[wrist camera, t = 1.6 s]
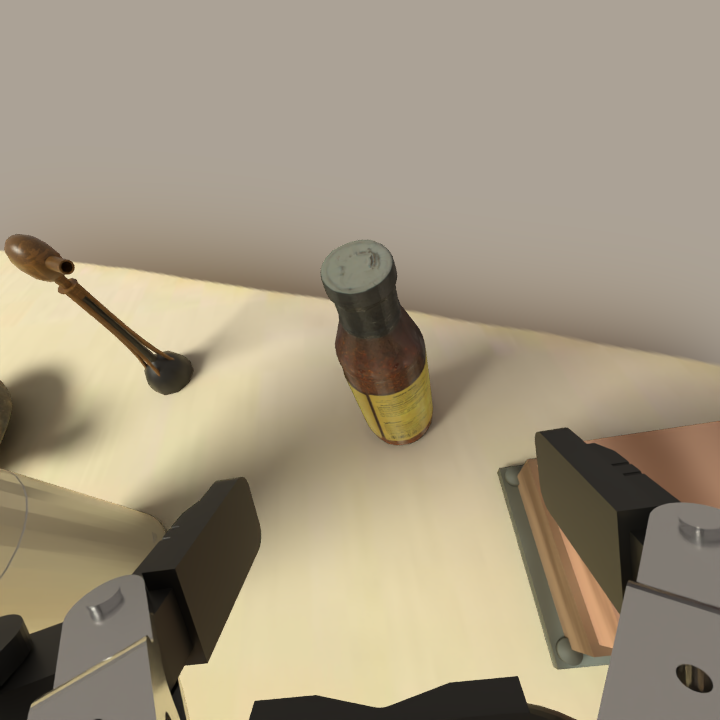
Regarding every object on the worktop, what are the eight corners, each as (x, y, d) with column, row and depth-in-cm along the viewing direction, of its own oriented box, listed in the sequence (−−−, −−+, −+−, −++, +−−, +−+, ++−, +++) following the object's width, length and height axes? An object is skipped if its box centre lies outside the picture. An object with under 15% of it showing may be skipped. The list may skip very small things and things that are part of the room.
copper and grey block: (553, 666, 26) (609, 697, 17) (497, 472, 33) (517, 426, 24) (764, 646, 25) (936, 669, 16) (659, 449, 32) (740, 392, 23)
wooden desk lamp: (207, 367, 44) (66, 223, 27) (183, 402, 42) (15, 270, 25) (170, 354, 46) (17, 212, 29) (145, 386, 44) (-34, 255, 28)
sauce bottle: (442, 400, 37) (446, 237, 21) (416, 459, 35) (396, 327, 18) (381, 378, 40) (339, 215, 23) (352, 431, 37) (283, 292, 20)
